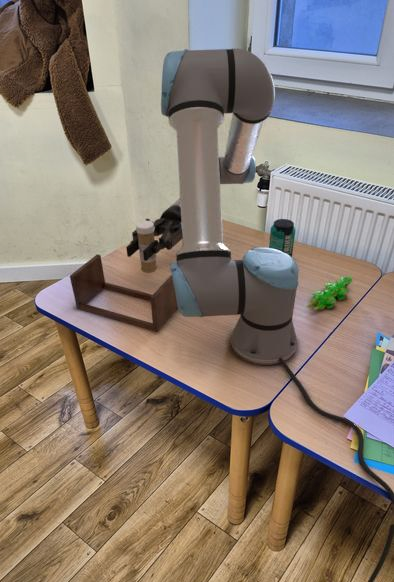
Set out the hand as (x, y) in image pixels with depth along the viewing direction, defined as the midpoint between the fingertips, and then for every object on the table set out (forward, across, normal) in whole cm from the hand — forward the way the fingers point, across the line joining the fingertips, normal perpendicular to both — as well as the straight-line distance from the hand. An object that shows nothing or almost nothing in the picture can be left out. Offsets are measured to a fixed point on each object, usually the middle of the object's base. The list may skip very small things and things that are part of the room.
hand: (136, 253), depth 120 cm
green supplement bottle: (-33, -29, -13) cm, 46 cm away
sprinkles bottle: (-5, 0, -8) cm, 9 cm away
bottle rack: (+7, 0, -12) cm, 14 cm away
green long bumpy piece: (-18, -47, -13) cm, 52 cm away
